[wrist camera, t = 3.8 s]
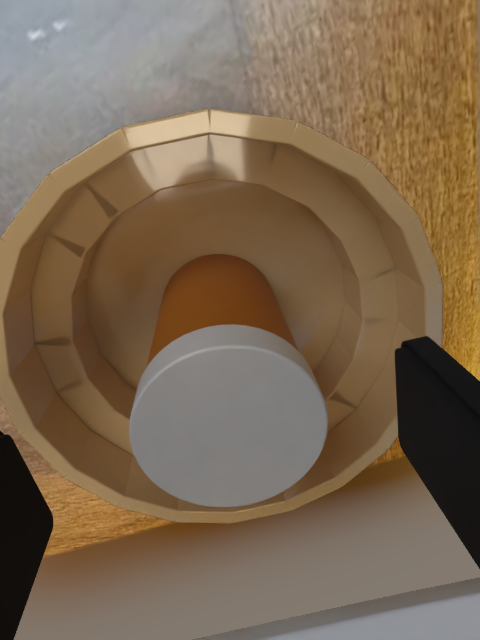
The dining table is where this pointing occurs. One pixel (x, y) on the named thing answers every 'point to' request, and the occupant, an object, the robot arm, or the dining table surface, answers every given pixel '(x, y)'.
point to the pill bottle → (225, 391)
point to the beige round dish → (188, 244)
